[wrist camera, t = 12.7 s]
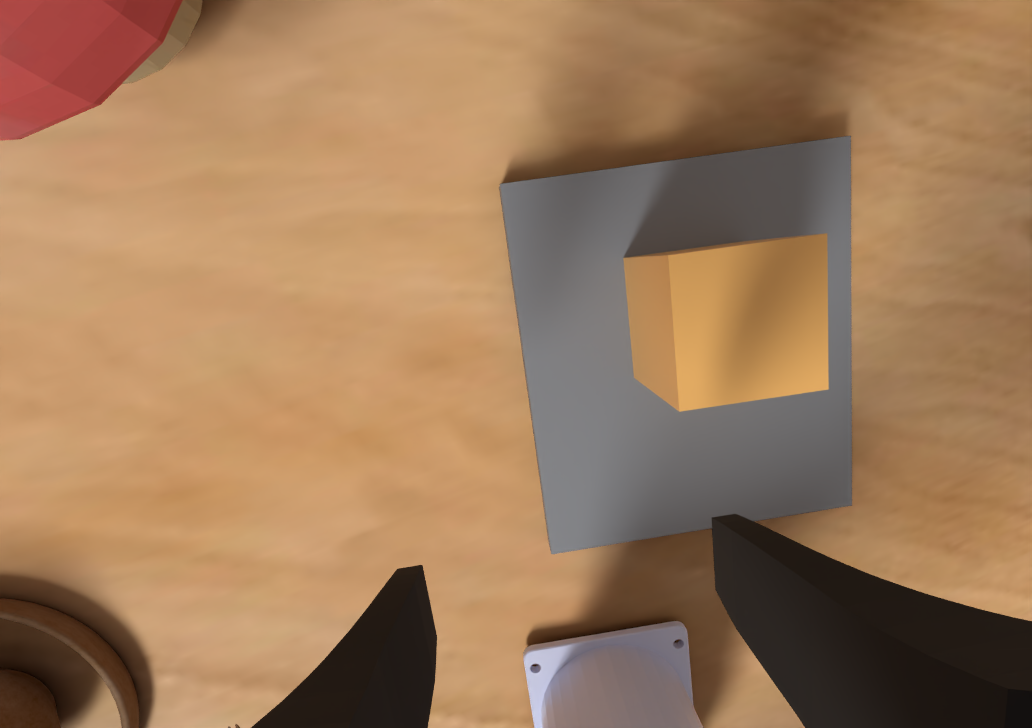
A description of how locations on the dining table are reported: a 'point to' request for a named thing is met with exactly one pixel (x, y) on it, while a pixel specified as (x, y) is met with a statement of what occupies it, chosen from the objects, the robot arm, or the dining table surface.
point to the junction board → (608, 356)
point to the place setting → (28, 702)
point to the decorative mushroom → (81, 54)
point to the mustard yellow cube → (730, 321)
